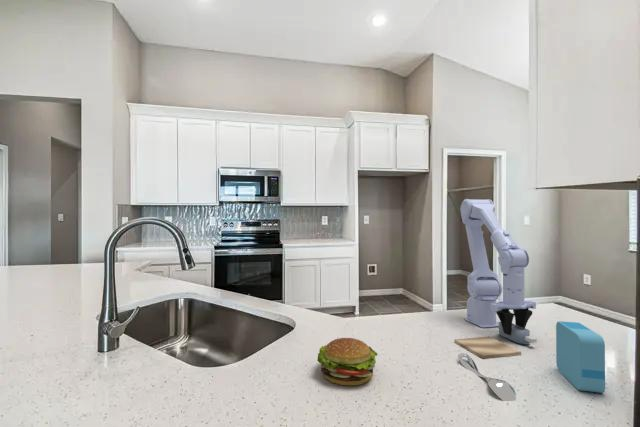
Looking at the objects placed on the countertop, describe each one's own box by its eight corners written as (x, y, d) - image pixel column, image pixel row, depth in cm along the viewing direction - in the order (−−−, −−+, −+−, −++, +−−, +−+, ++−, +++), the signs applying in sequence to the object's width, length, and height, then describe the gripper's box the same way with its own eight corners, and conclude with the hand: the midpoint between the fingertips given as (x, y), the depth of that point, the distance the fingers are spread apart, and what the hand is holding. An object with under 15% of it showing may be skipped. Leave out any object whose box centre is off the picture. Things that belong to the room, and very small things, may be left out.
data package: (605, 396, 69) (605, 338, 69) (580, 393, 70) (580, 335, 70) (577, 370, 81) (577, 320, 81) (556, 368, 82) (555, 319, 82)
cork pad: (454, 342, 99) (454, 339, 99) (489, 339, 101) (489, 336, 101) (482, 358, 87) (482, 355, 87) (521, 354, 90) (521, 351, 90)
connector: (495, 332, 106) (495, 321, 106) (506, 332, 106) (506, 321, 106) (528, 347, 94) (528, 335, 94) (539, 346, 94) (539, 334, 94)
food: (381, 365, 83) (381, 333, 83) (371, 393, 70) (371, 355, 70) (328, 357, 88) (329, 327, 88) (309, 382, 74) (310, 346, 74)
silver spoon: (452, 345, 86) (470, 345, 87) (452, 359, 87) (470, 358, 87) (498, 390, 67) (521, 389, 67) (498, 407, 67) (520, 406, 67)
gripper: (503, 292, 96) (503, 339, 96) (544, 290, 99) (544, 336, 99) (485, 287, 103) (485, 331, 102) (525, 285, 106) (525, 328, 106)
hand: (513, 333), depth 101 cm, fingers closed on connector, 4 cm apart
